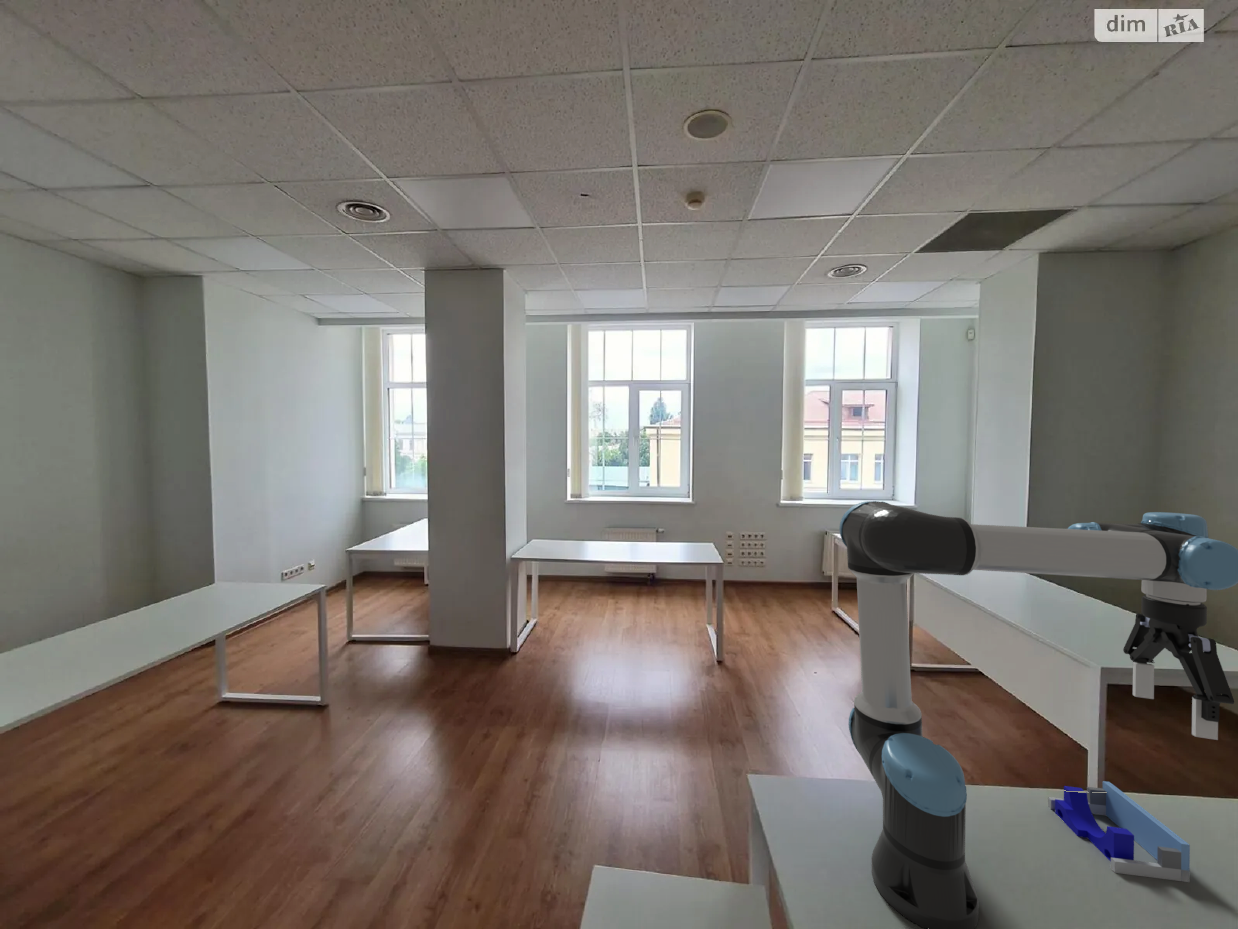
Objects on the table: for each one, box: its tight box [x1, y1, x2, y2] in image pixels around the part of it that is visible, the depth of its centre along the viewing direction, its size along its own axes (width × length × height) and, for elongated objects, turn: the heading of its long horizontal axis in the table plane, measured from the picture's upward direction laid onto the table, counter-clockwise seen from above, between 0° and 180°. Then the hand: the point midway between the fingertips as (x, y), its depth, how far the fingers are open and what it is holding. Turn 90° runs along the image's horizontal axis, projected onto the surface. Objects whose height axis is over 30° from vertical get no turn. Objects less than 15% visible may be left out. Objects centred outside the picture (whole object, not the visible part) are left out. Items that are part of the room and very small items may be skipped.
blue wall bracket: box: [1047, 780, 1191, 883], centre depth 87 cm, size 11×16×6 cm
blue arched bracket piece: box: [1054, 785, 1135, 863], centre depth 88 cm, size 12×4×6 cm, turn 168°
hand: (1171, 715), depth 83 cm, fingers open, 13 cm apart
